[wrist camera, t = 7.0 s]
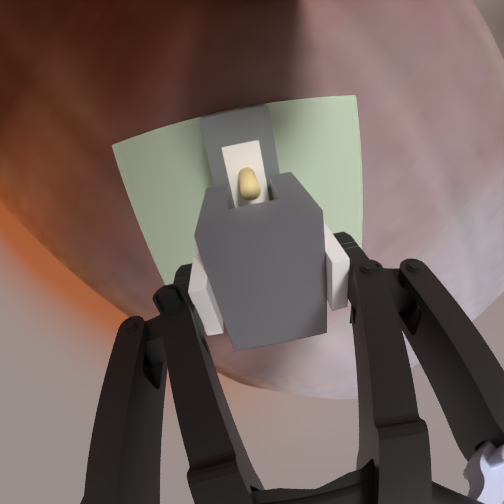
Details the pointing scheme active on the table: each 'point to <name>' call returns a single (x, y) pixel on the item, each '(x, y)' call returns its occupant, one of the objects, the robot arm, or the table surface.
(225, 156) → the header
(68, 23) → the table surface
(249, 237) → the plug block
